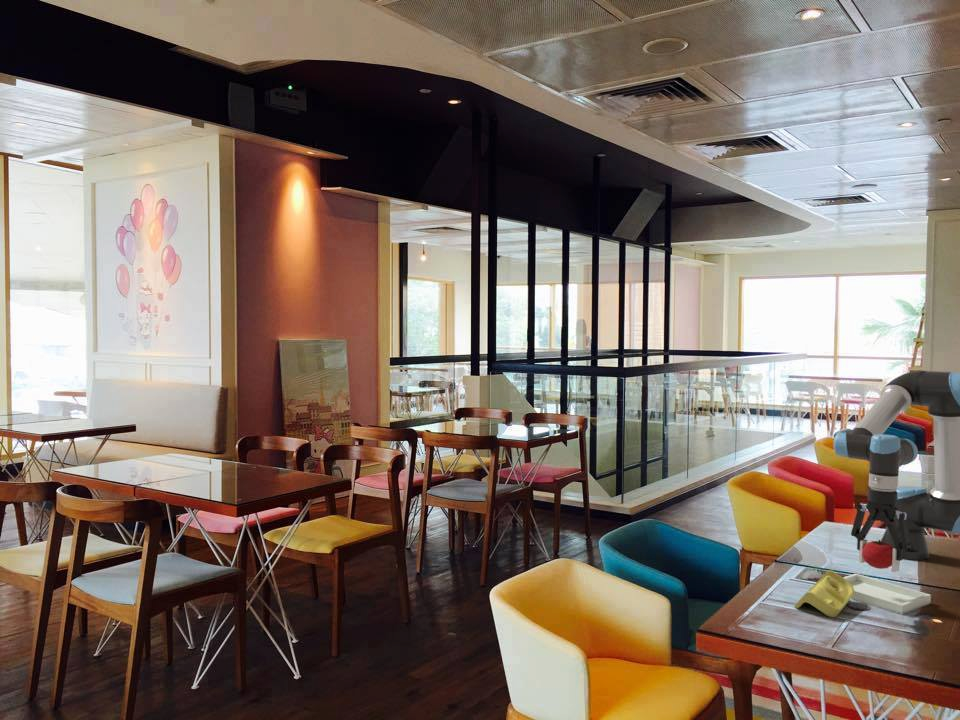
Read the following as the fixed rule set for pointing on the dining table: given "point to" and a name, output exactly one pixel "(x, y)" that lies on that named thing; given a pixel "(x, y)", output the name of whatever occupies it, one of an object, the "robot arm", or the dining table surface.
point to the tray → (886, 594)
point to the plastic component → (829, 594)
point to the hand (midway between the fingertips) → (878, 566)
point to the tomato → (878, 554)
